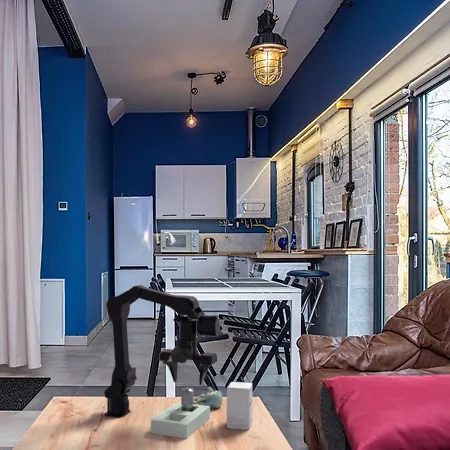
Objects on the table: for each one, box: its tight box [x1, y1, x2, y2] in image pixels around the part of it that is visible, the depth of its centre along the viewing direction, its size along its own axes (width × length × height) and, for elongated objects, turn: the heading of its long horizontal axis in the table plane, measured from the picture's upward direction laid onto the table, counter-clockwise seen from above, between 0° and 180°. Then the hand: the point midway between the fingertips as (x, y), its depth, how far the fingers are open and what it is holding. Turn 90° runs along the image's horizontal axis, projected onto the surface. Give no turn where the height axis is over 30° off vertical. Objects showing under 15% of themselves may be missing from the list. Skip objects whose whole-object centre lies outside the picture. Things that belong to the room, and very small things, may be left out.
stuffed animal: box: [194, 386, 224, 409], centre depth 172 cm, size 11×7×12 cm
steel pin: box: [180, 386, 195, 412], centre depth 157 cm, size 4×4×9 cm
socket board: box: [150, 401, 211, 440], centre depth 152 cm, size 12×18×4 cm, turn 159°
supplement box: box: [226, 381, 253, 431], centre depth 153 cm, size 7×7×13 cm
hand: (187, 383), depth 157 cm, fingers open, 9 cm apart
